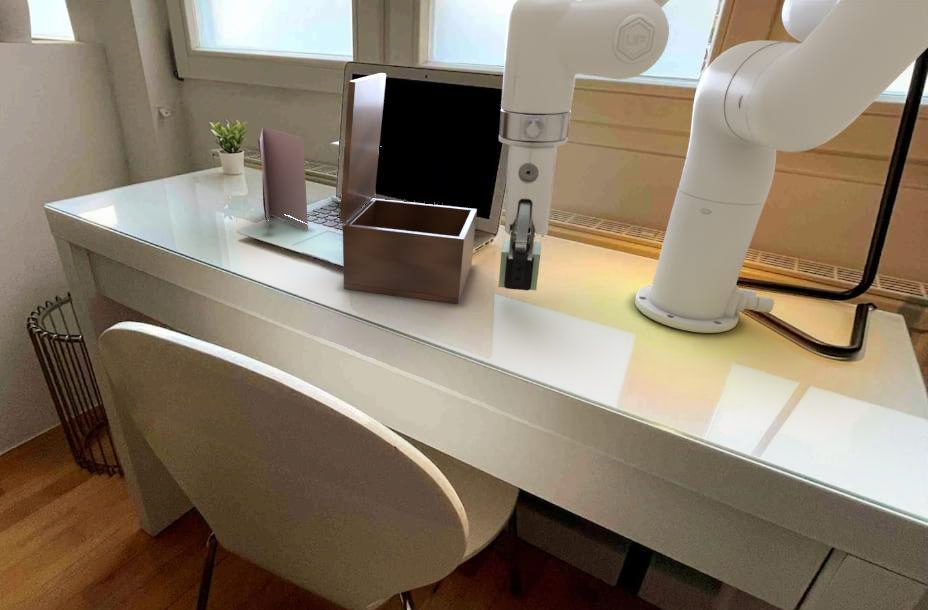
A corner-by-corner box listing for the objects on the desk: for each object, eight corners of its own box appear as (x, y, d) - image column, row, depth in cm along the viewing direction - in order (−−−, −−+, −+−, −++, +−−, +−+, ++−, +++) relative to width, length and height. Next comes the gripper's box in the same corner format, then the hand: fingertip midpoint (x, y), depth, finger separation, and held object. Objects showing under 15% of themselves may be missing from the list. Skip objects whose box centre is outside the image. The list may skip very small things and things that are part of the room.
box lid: (386, 73, 75) (380, 72, 75) (355, 82, 63) (348, 81, 63) (374, 195, 83) (369, 194, 83) (345, 222, 72) (339, 221, 72)
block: (537, 276, 73) (541, 242, 71) (536, 290, 69) (540, 255, 67) (501, 273, 74) (504, 239, 72) (498, 287, 70) (501, 252, 68)
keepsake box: (471, 266, 85) (477, 209, 81) (458, 304, 74) (464, 239, 69) (371, 254, 88) (372, 197, 84) (343, 288, 76) (342, 225, 72)
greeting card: (265, 214, 103) (257, 127, 95) (306, 213, 104) (302, 127, 97) (262, 235, 93) (253, 140, 86) (308, 234, 95) (303, 140, 87)
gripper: (570, 143, 55) (547, 312, 64) (567, 117, 69) (549, 258, 78) (492, 140, 56) (481, 306, 65) (505, 115, 70) (494, 254, 79)
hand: (518, 278), depth 71 cm, fingers closed on block, 4 cm apart
